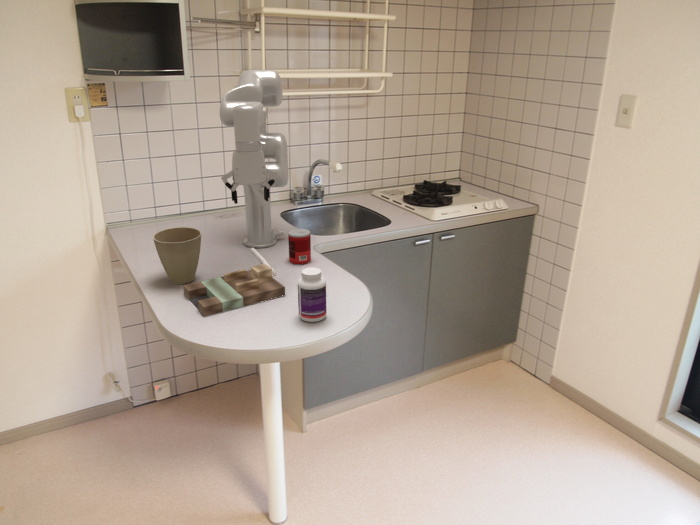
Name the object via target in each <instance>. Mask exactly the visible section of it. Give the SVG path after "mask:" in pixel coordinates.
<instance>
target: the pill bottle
mask: <svg viewBox="0 0 700 525" xmlns="http://www.w3.org/2000/svg"><path fill="white" fill-rule="evenodd" d="M297 301H298V302H297V303H298V305H297V306H298V308H297V309H298V316H299V318H300V320H302V321H304V322H308V323H309V322H310V323H315V322H316V323H317V322H320V321H322V320H324V319H325V318H326V317H327V281H326V279H325V277H323V276H322V269H320V268H318V267H306V268H304V269H302V270H301V277H300V278H299V279H298V280H297Z"/></svg>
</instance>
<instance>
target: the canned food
mask: <svg viewBox="0 0 700 525" xmlns="http://www.w3.org/2000/svg"><path fill="white" fill-rule="evenodd" d="M311 239H312V238H311V231H310V230H309V229H307V228H293V229H290V230H289V231H288V234H287V240H288V241H287V242H288V260H289V263H291V264H293V265H295V264H303V265H306V264H305V263H307V264H309V263H310V262H311V259H312V252H311V251H312V247H311V245H312V244H311V241H312V240H311ZM308 262H309V263H308Z"/></svg>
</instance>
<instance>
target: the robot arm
mask: <svg viewBox="0 0 700 525" xmlns="http://www.w3.org/2000/svg"><path fill="white" fill-rule="evenodd" d="M283 95H284V94H283V84H282V79H281V76H280V75H279V72H277V71H276V70H275V69H246V70H244V71H242V72H241V74H239V77H238V80H237V85H235V87H234V88H233V89H231V90H229V91H227V92H225V93H224V94H223V95H222V98H221V101H220V105H219V119H220V121H221V124H223V126H225V127H233V130H234V131H233V132H234V144H235V145H234V146H235V150H234V151H233V152H232V158H231V170H230V171H229V172H227V173H225V174H223V175H222V176H221V177H220V179H221V180H222V182H223V184H224V185H225V187H227V188H228V189H229V190H230V191H231V192H230V193H231V201H233V202H234V204H235V205H237V204H238V191H237V190H236V189H237V188H238V187H239V186H242V187H243V195H244V196H243V197H244V209H245V222H246V237H245V238H244V239H243V242H242V243H243V245H244V246H246V247H248V248H255V249H262V248H263V249H264V248H269V247H271V246H274V245H276V242H277V239H276V237H277V236H283V235H284V230H283V229H280V230H278V229H272V211H271V209H272V208H271V205H272V204H271V194H270V189H271V188H283V187H286V186H287V185H288V182H289V159H288V157H289V156H288V154H289V152H288V142H287V139H286V136H285V135H284V134H283V133H281V132H280V133H279V132H267V131H268V130H267V116H268V112H267V108H268V107H269V108H270V107H273V108H275V107H279V106H280V105H281V104H282V102H283ZM267 159H268V160H270V159H272V160H274V161H266V160H267ZM229 178H232V181H233V182H232V184H231V183H230V182H229V181H228V179H229Z"/></svg>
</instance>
